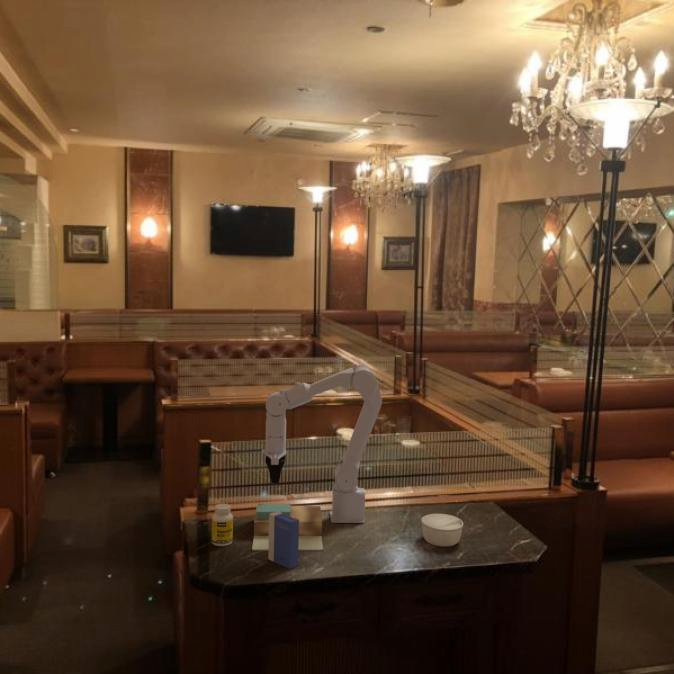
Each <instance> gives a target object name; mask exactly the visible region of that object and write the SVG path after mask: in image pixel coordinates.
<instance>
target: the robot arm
mask: <svg viewBox="0 0 674 674" xmlns="http://www.w3.org/2000/svg"><path fill="white" fill-rule="evenodd" d="M352 386H353V388H354V390H356V392H358V394H360V396H361V397H362V398H361V399H362V400H363V404H362V405H363V406H362V407H361V410H360V413H359V416H358V418H357V422H356V423H355V426H354V428H353V432H352V434H351V437H350V440H349V442H348V444H347V447H346V449H345V452H344V453H343V455H342V457H341V459H340V461H339V462H338V463H337V464H336V465H335V466H334V469H333V474H334V483H333V484H332V497H331V500H332V501H331V503H332V504H331V510H330V511H329V516H330V523H331V524H333V523H334V524H338V523H340V524H364V523H365V514H366V492H365V491H366V490H365V488H364V487H359V486H358V472H359V470H360V465H361V461H362V457H363V455H364V452H365V450H366V447H367V444H368V442H369V439H370V436H371V434H372V431H373V429H374V425H375V424H376V421H377V418H378V415H379V413H380V410H381V407H382V404H383V398H382V394H381V390H380V386H379V382H378V380H377V378H376V376H375V375H374V373H373V372H372V370H371V369H370V367H368V366H366V365H365V364H364V365H363V364H360V365H356V366H354V367H349V368H346V369H344V370H340V371H339V372H336V373H333V374H331V375H329V376H327V377H324V378H322V379H319V380H317V381H316V382H313V383H310V384H309V383H306V382H300V381H297V382H295V383H294V385H293V386H291V387H288V388H286V389H283V388H280V389H279V390H278V391H279V392H277V391H276V392H272V393H270V394H269V395H268V397H267V399H266V403H265V410H266V412H265V413H266V415H265V416H266V420H265V449H261V452H260V453H261V454H263V455H266V456H265V462H264V463H265V465H266V466H267V468H268V472H269V479H270V483H271V484H279V483H280V480H281V474H282V470H283V467H284V466H285V464H286V459H287V458H286V457H287V456H286V455H287V419H286V411H287V410H292V409H294V408H297V407H299V406H302V405H305V404H307V403H311V401H312V400H313V397H315V395H318V394H321V393H324V392H327V391H331V390H334V389H337V388H339V387H342V388H345V389H349V390H352V389H351V388H352Z"/></svg>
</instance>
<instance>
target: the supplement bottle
mask: <svg viewBox="0 0 674 674" xmlns="http://www.w3.org/2000/svg"><path fill="white" fill-rule="evenodd" d="M233 533H234V515H233V514H232V513H231V505H230V504H228V503H218V504H216V505H215V506H214V513H213V514H212V517H211V544H213V546H217V547H225V546H229V545H231V544H232V543H233V537H234V536H233Z"/></svg>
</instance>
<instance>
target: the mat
mask: <svg viewBox="0 0 674 674" xmlns="http://www.w3.org/2000/svg"><path fill="white" fill-rule="evenodd" d="M323 550H324V547H323V536H299V545H298V552H299V551H303V552H305V551H315V552H316V551H318V552H320V551H322V552H323ZM251 551H256V552H257V551H268V552H269V536H254V535H253V541H252V546H251Z"/></svg>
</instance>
